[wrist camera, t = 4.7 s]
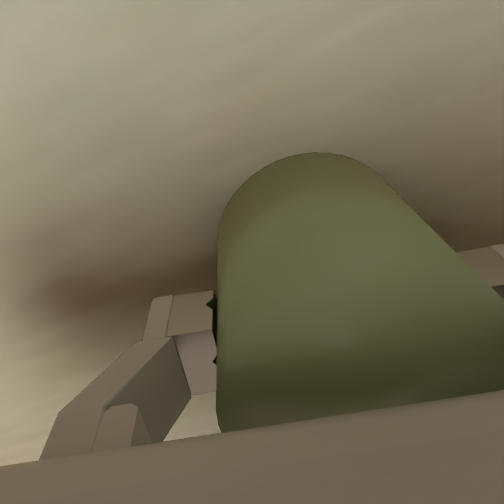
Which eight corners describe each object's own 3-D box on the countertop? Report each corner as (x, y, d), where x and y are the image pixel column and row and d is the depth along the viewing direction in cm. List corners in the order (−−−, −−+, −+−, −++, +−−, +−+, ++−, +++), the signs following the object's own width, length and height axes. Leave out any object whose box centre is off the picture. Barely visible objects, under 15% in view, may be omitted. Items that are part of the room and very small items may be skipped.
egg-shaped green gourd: (200, 169, 11) (184, 300, 6) (403, 137, 11) (564, 241, 6) (233, 326, 14) (241, 509, 9) (396, 301, 14) (501, 470, 9)
